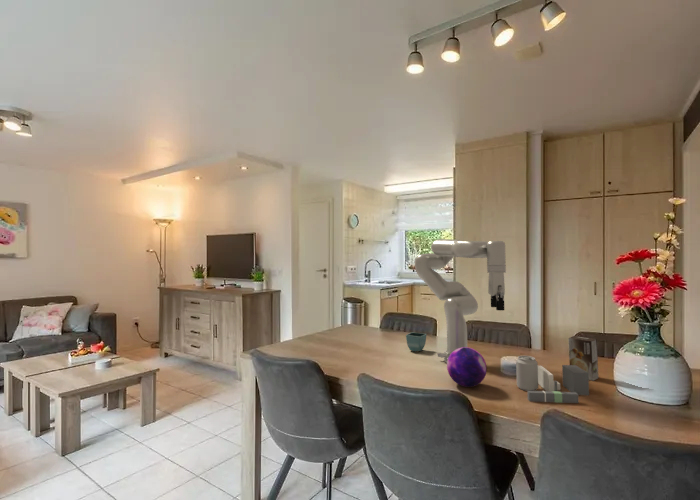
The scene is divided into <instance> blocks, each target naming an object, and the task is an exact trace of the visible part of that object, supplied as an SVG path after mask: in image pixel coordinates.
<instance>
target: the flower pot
mask: <svg viewBox="0 0 700 500" xmlns="http://www.w3.org/2000/svg"><path fill="white" fill-rule="evenodd" d="M405 337H406V338H405V339H406V344H407V347H408V349H409V351H410V350H412V351H411V352H416V351H420V352H422V351H423V350H424V348H425V345H426V341H427V333H423V332H421V333H420V332H413V331H412V332H409V333H408V334H406V335H405Z"/></svg>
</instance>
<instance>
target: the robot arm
mask: <svg viewBox="0 0 700 500" xmlns="http://www.w3.org/2000/svg"><path fill="white" fill-rule="evenodd" d="M430 249H431V251H432V253H431V252H430V253H422V254H419V255H418V256H417V257H416V258H415V259H414V260H415V261H414V268H415V271H416V274H417V275H418V277H419V278H420V279H421V280H422V281H423V282H424V284H425V285H427V287H428V288H429V290H431V292H432V293H433V295H435V297H436V298H437V299H438V300H441V301H444V304H443V309H444V314H445V322H446V324H445V325H446V349H447V350H445V351H444V352H437V357H438V358H443V361H444V363H446V364H447V361H448V358H449V356H450V354H451V353H452V352H453V351H454V350H456V349H458V348H462V347H468V327H467V322H466V319H465V317H464V316H469V315H472V314H475V313H476V312H477V310H478V309H479V306H478V301H477V299H476V297H475V296H474V295H473V294H472V293H471V292H470V291H469V290H468V289H467V288H466V287H465V286H464V285H463V284H462V283H461V282H459V281H456V280H453V281H452V280H450V281H447V280H445V278H443V277H442V276H441V274H440V273H438V271H436V270H440V269H444V268H445V267H446V266H447V265H448V264H449V263H450V262H451V260H453V258H467V259H478V258H479V259H486V264H487V265H486V271H487V273H488V283H487V284H488V285H487V286H488V287H487V288H488V290H487V292H488V294H489V295H490V307H491V308H495V310H496V311H505V294H506V291H505V289H506V287H505V285H506V284H505V273H507V266H506V265H507V264H506V260H507V259H506V243H505V242H504V241H503V240H491V241H487V240H485V241H482V240H475V241H474V240H460V239H451V238H450V239H449V238H448V239H445V238H443V239H442V238H439V239H436V240H434V241H433V242H432V243H431V247H430Z"/></svg>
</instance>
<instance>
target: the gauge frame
mask: <svg viewBox="0 0 700 500" xmlns="http://www.w3.org/2000/svg"><path fill="white" fill-rule="evenodd" d="M561 368H562V371H561V372H562V373H561V374H562V386H563V387H564V388H565V389H567V390H568V391H561V390H557V391H546V390H535V391H526V392H527V393H526V394H527V400H528V402H537V403H539V402H540V403H541V402H542V403H558V404H559V403H560V404H562V403H563V404H564V403H565V404H579V402H580V401H579V396H590V380H589V373H587V372H586V371H584V370H583V369H581V368H579V367H578V366H576V365H570V364H562V367H561Z"/></svg>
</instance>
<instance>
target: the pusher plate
mask: <svg viewBox="0 0 700 500" xmlns="http://www.w3.org/2000/svg"><path fill="white" fill-rule="evenodd" d="M538 386H540V387H541V388H542V389H543V390H544V391H561V383H560V382H559V381H557V380H554V374H553V373H551V372H550V371H549V370H547V368H545V367H544V366H543V365H538Z"/></svg>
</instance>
